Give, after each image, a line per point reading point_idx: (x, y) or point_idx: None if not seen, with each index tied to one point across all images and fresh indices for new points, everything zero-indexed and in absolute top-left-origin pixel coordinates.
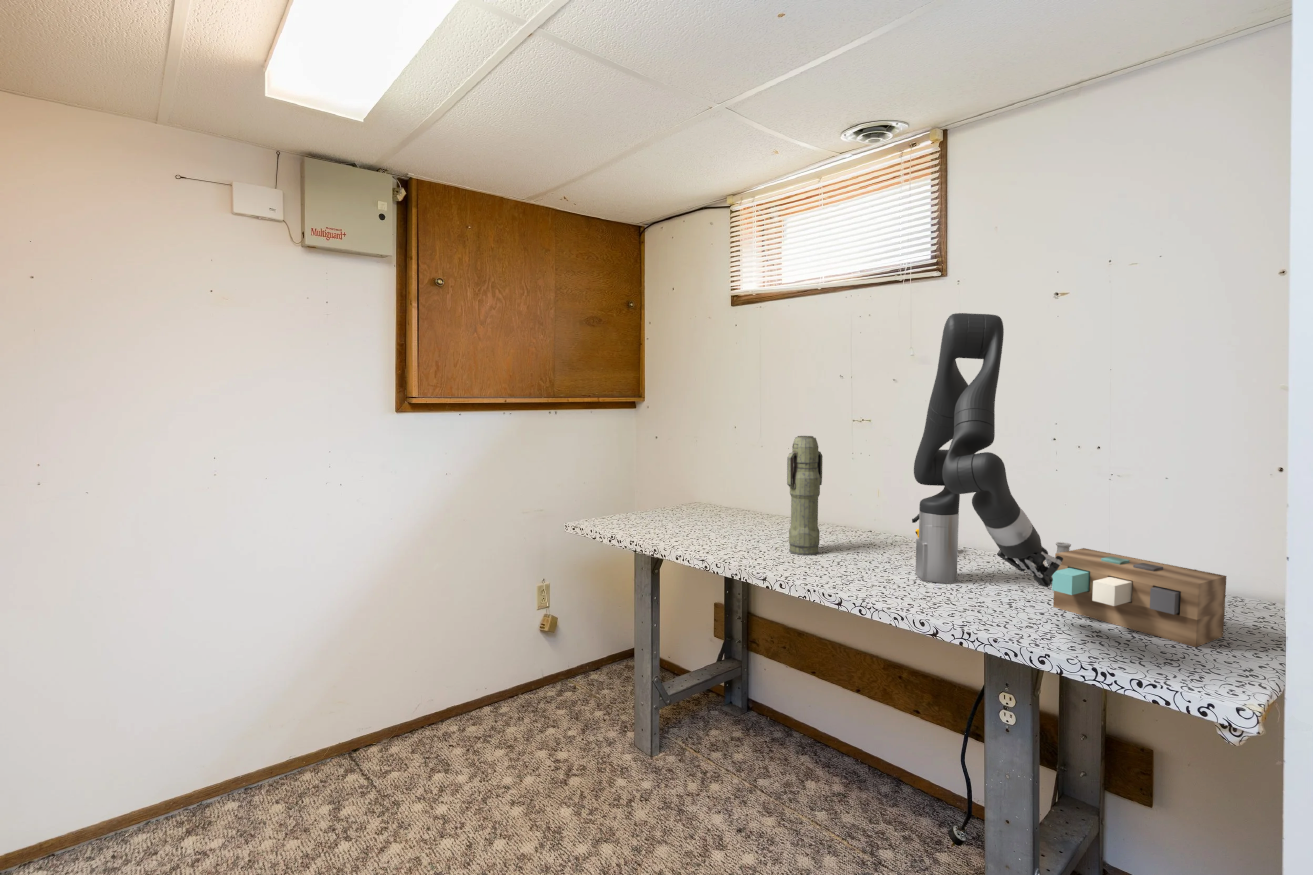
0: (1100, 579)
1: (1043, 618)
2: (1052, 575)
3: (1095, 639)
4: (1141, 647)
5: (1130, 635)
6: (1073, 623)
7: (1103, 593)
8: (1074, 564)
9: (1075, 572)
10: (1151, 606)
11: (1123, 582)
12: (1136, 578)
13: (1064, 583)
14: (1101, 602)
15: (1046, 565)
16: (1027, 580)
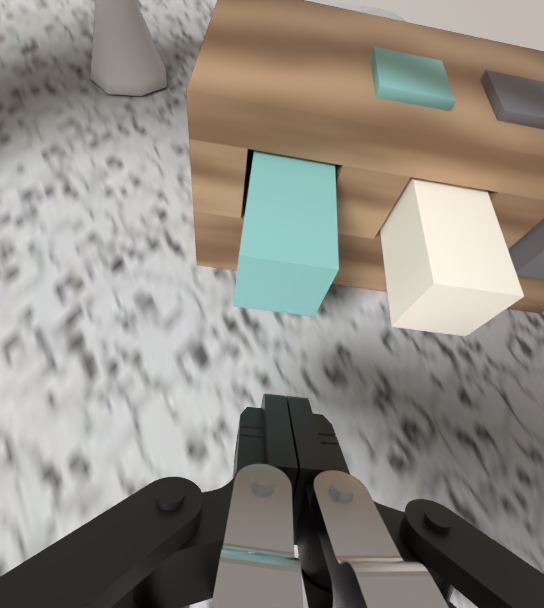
0: (427, 237)
1: (227, 403)
2: (108, 69)
3: (429, 477)
4: (515, 428)
5: (438, 347)
6: (308, 371)
7: (451, 313)
8: (279, 140)
9: (309, 202)
10: (523, 270)
11: (487, 219)
12: (518, 184)
13: (292, 290)
14: (423, 329)
15: (379, 516)
16: (51, 100)
